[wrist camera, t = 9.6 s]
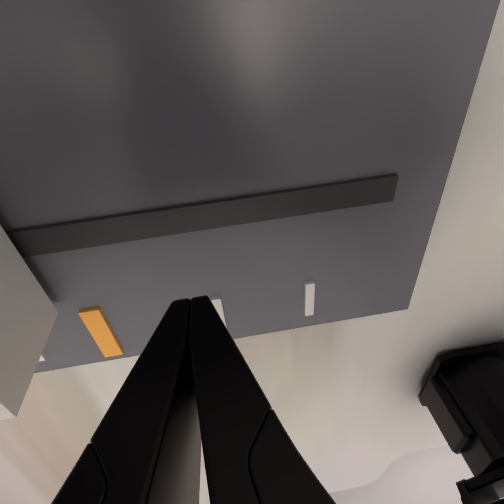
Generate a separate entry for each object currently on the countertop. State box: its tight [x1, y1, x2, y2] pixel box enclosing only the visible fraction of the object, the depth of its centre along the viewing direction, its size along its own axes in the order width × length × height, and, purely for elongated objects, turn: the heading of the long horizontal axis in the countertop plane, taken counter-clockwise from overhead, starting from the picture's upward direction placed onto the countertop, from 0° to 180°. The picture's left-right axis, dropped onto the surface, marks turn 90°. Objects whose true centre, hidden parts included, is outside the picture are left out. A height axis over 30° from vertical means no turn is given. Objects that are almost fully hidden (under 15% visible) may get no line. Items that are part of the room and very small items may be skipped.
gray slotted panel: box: [0, 0, 500, 373], centre depth 12 cm, size 22×14×2 cm, turn 95°
